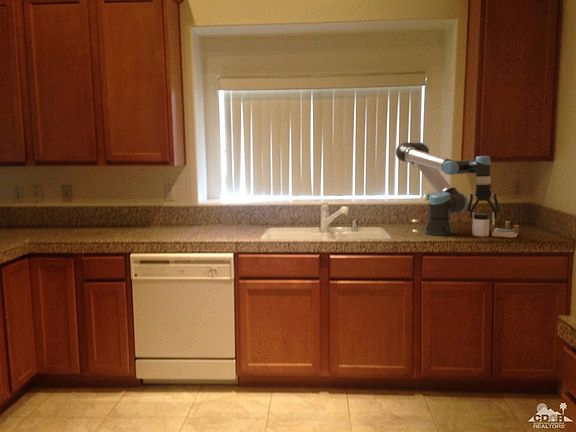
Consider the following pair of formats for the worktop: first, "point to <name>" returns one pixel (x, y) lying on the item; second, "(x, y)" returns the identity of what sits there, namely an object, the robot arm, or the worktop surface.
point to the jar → (480, 225)
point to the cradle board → (504, 231)
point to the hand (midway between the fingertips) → (483, 223)
